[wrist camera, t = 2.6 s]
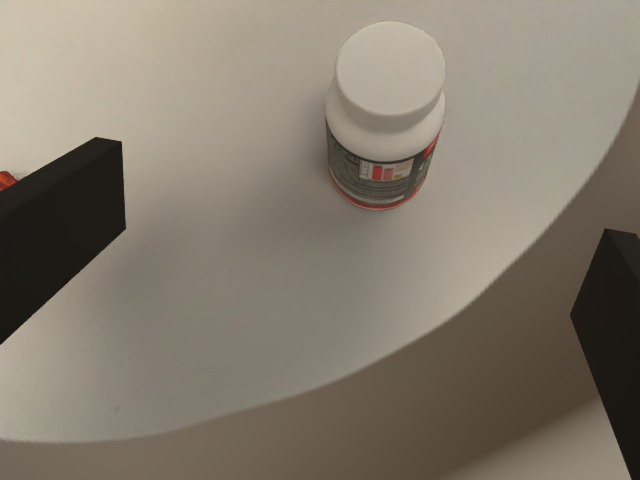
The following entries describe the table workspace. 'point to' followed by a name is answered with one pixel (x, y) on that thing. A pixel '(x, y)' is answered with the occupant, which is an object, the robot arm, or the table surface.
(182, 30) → the table surface
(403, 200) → the pill bottle
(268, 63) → the table surface
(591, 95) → the table surface
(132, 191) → the table surface
